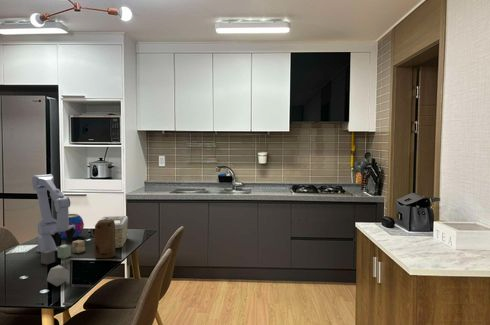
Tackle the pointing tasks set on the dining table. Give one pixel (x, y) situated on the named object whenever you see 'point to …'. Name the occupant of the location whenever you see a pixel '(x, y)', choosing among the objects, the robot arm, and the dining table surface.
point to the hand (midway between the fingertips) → (63, 244)
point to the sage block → (63, 251)
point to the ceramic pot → (78, 222)
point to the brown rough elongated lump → (104, 239)
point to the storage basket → (119, 229)
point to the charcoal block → (48, 256)
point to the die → (57, 275)
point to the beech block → (78, 246)
